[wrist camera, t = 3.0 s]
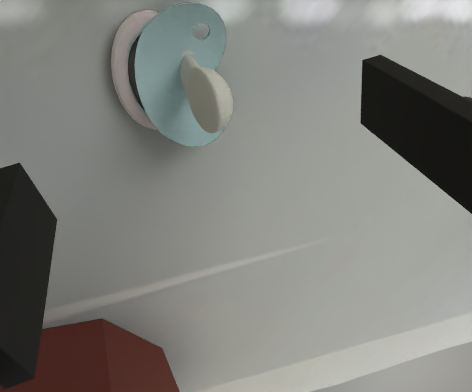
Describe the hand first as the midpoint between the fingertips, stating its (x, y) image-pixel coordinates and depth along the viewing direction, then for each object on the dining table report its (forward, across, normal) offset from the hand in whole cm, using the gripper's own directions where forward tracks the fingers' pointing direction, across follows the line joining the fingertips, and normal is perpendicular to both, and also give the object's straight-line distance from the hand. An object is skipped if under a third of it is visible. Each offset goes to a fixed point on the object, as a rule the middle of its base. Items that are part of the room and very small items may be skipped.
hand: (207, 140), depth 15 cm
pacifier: (+9, 0, 0) cm, 9 cm away
